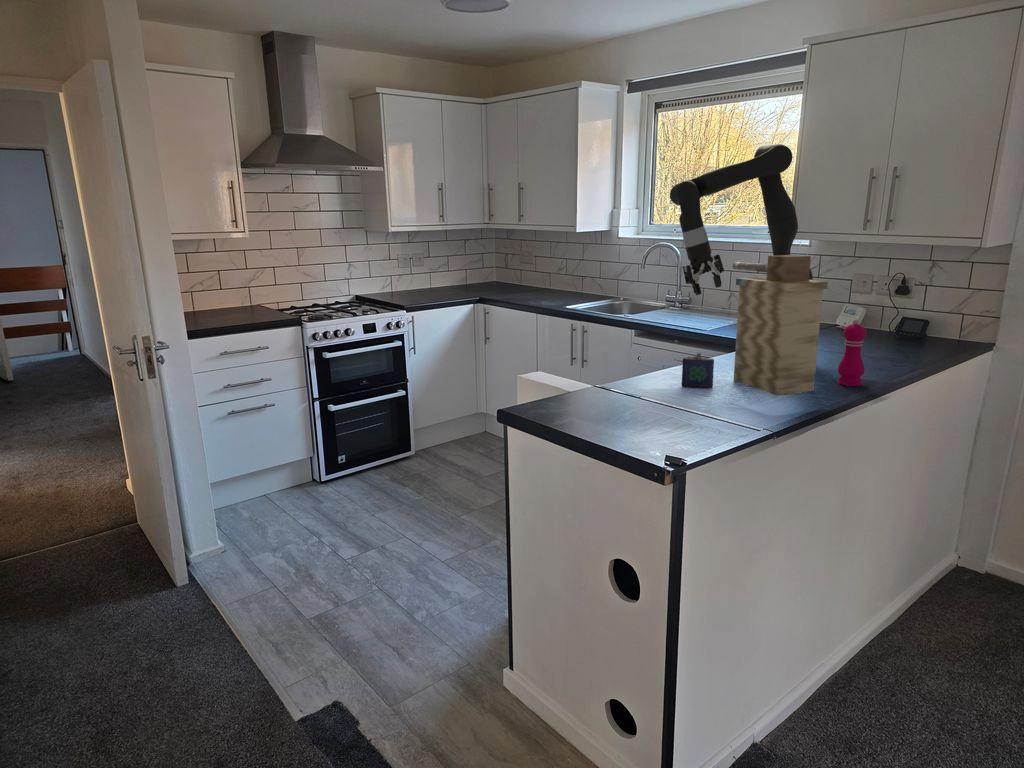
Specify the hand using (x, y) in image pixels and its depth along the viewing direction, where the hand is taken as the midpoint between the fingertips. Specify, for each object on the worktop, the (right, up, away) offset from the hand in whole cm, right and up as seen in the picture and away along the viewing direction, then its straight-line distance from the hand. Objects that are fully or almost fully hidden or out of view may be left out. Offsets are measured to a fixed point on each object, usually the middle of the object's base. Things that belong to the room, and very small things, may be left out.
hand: (708, 290), depth 216 cm
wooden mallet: (+11, +1, -18) cm, 21 cm away
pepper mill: (+38, -31, -17) cm, 52 cm away
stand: (+14, -31, -17) cm, 38 cm away
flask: (-9, -32, -16) cm, 37 cm away
